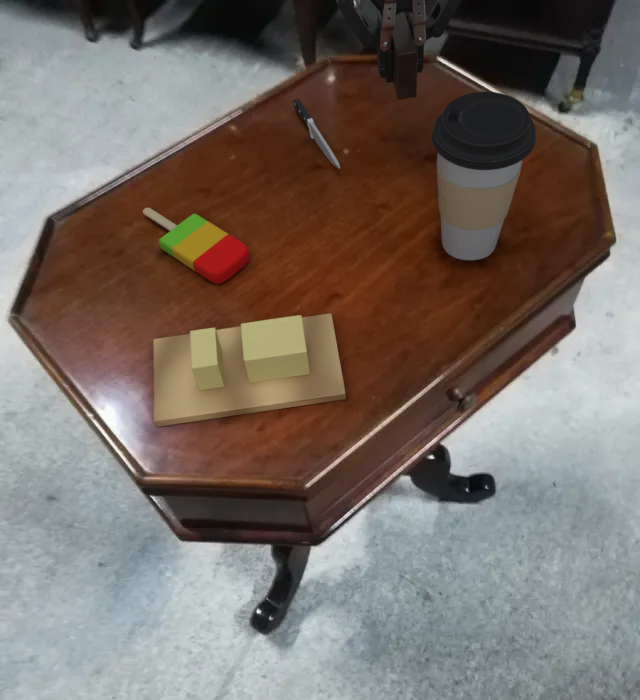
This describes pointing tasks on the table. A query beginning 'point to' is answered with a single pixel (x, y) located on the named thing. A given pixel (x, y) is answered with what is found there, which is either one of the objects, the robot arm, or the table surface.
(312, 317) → the board
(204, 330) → the butter pat
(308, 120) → the knife
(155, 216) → the popsicle
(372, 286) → the table surface
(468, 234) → the coffee cup
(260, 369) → the butter stick
